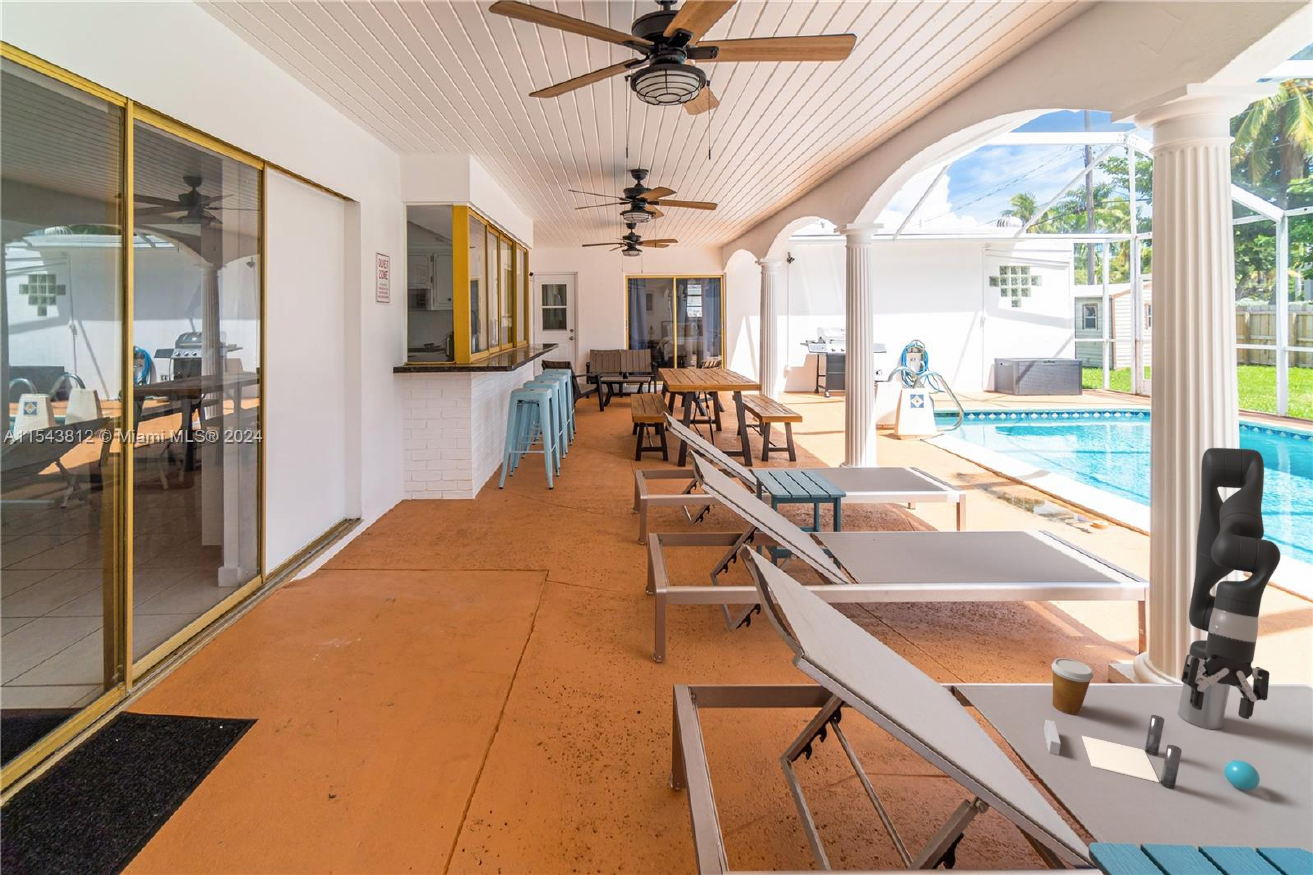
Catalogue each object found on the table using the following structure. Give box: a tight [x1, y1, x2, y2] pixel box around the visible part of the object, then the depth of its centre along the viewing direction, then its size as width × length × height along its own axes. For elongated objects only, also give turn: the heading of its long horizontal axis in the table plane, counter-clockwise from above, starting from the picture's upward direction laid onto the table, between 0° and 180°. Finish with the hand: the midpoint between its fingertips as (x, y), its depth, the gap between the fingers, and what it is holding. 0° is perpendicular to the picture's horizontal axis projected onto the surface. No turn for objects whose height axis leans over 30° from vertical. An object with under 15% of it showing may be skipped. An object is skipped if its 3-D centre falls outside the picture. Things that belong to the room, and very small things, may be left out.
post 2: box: [1159, 744, 1183, 790], centre depth 153 cm, size 3×3×9 cm
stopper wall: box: [1043, 719, 1062, 756], centre depth 168 cm, size 10×2×3 cm, turn 157°
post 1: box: [1144, 714, 1165, 757], centre depth 165 cm, size 3×3×9 cm
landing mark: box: [1081, 735, 1160, 784], centre depth 163 cm, size 13×13×1 cm
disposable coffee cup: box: [1051, 657, 1094, 715], centre depth 183 cm, size 10×10×12 cm
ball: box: [1223, 759, 1261, 791], centre depth 154 cm, size 6×6×6 cm
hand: (1219, 713), depth 140 cm, fingers open, 8 cm apart
